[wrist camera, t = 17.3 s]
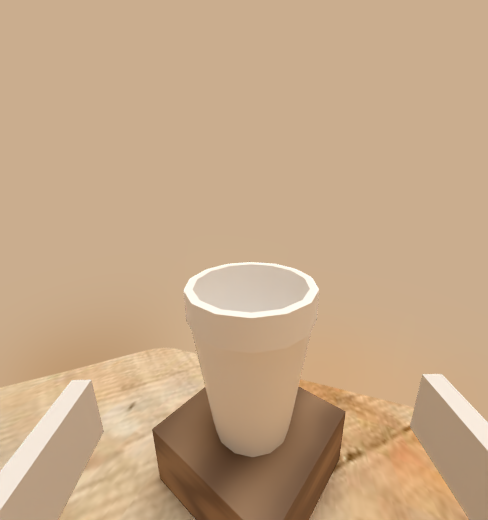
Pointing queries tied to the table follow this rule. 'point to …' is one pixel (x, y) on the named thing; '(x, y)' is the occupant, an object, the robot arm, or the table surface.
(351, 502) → the table surface
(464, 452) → the robot arm
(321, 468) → the walnut block
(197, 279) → the foam cup
